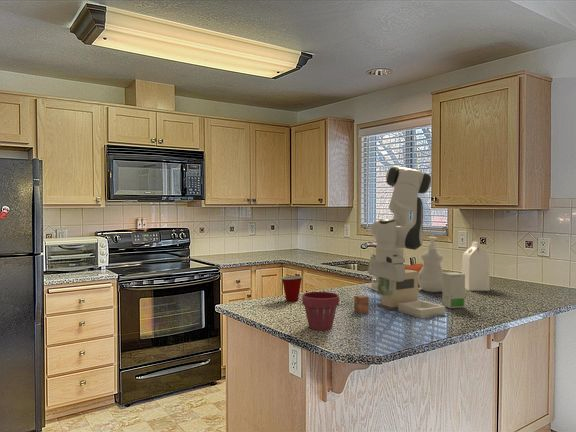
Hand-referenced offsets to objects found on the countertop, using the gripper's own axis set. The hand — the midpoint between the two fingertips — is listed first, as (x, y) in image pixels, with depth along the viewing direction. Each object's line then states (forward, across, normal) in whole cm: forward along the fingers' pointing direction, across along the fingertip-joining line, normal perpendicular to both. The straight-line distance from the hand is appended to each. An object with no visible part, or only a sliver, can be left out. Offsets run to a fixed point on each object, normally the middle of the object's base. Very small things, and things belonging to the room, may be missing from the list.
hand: (385, 288), depth 199 cm
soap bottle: (+12, -29, +56) cm, 64 cm away
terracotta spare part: (+12, -9, -6) cm, 16 cm away
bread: (+13, -52, +65) cm, 84 cm away
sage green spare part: (+2, 0, 0) cm, 2 cm away
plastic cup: (+12, -44, -22) cm, 51 cm away
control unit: (+12, -9, +16) cm, 22 cm away
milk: (+12, -23, +83) cm, 87 cm away
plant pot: (+12, +3, -35) cm, 37 cm away
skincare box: (+12, +2, +38) cm, 40 cm away
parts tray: (+11, +5, +16) cm, 20 cm away
